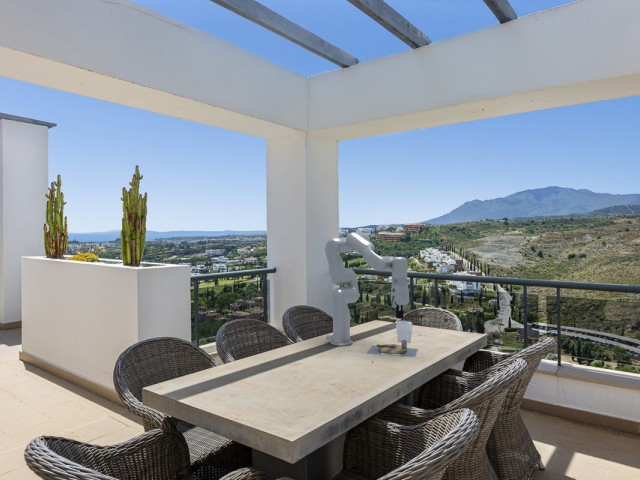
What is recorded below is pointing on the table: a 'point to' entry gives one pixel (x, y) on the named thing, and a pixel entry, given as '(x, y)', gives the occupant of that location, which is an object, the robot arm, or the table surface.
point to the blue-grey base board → (410, 352)
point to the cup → (404, 330)
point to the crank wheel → (393, 348)
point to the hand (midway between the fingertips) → (399, 318)
